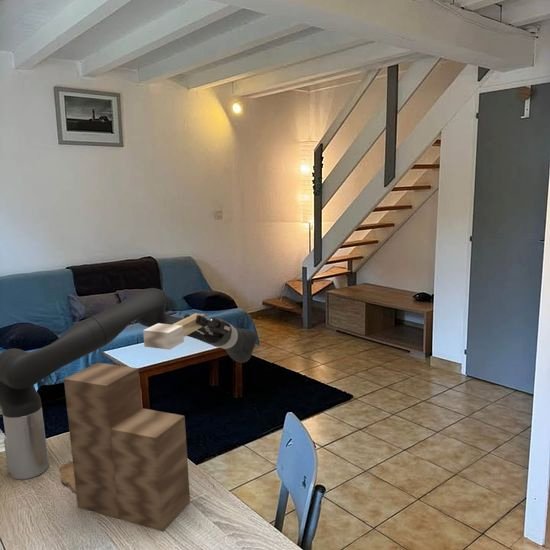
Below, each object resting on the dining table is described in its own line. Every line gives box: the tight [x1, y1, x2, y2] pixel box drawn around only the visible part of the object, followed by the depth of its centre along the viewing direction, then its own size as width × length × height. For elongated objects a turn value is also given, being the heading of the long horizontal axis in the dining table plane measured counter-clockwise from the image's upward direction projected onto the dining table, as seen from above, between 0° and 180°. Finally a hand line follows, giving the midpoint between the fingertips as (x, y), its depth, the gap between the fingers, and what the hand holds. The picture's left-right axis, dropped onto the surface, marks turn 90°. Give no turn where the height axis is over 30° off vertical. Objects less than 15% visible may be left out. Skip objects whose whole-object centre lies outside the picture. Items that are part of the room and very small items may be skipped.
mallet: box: [142, 313, 206, 350], centre depth 129 cm, size 7×20×4 cm, turn 158°
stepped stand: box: [63, 362, 191, 532], centre depth 120 cm, size 24×11×32 cm, turn 67°
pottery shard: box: [58, 460, 76, 494], centre depth 135 cm, size 8×16×2 cm, turn 28°
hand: (191, 318), depth 134 cm, fingers closed on mallet, 3 cm apart
